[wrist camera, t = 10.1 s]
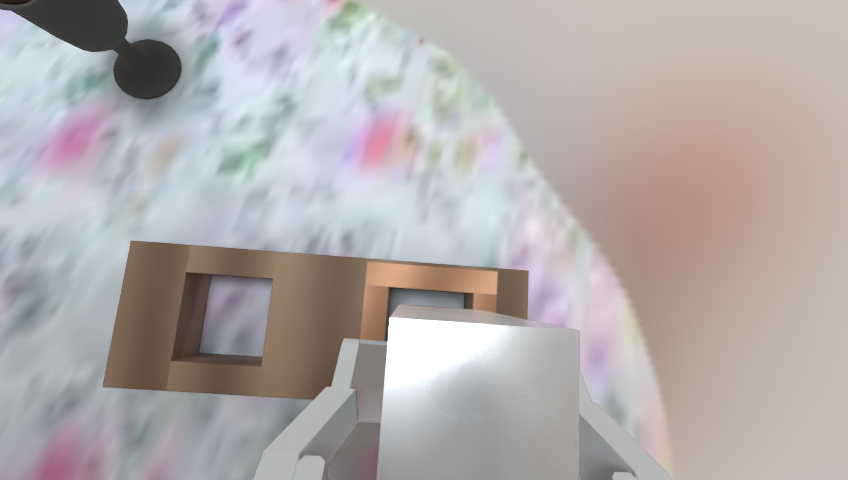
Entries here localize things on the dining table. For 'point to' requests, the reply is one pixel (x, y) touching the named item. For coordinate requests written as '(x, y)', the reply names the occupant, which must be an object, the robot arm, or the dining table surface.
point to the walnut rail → (272, 315)
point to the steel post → (478, 397)
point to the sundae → (105, 40)
